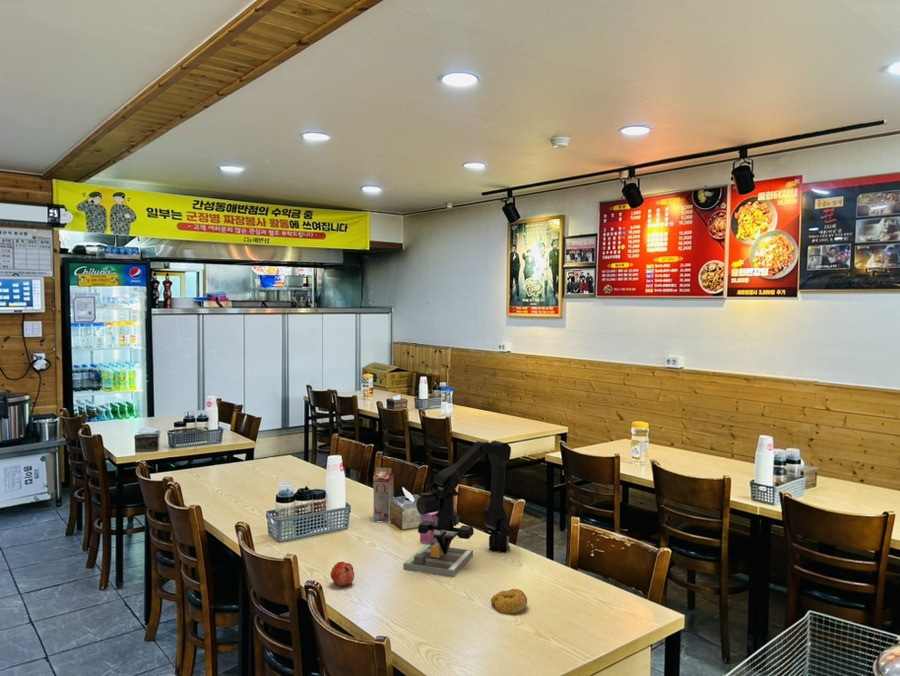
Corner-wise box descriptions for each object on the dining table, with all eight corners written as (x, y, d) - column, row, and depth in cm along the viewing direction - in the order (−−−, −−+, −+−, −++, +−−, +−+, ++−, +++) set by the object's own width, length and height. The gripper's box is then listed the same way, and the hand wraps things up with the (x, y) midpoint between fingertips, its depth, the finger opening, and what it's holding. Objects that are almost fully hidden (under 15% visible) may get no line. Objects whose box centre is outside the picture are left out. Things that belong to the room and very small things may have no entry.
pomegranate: (327, 591, 203) (335, 581, 195) (326, 568, 207) (334, 557, 200) (350, 590, 206) (358, 580, 198) (348, 567, 210) (357, 556, 203)
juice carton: (388, 522, 264) (389, 470, 263) (373, 521, 265) (373, 469, 264) (393, 518, 270) (393, 466, 269) (378, 517, 271) (378, 465, 271)
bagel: (502, 596, 195) (502, 581, 194) (533, 606, 188) (533, 591, 188) (483, 608, 187) (484, 592, 186) (515, 619, 180) (516, 603, 180)
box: (431, 545, 237) (431, 514, 237) (419, 542, 241) (419, 511, 240) (448, 538, 246) (448, 507, 245) (436, 535, 249) (436, 505, 249)
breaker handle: (443, 553, 223) (443, 543, 222) (438, 557, 219) (438, 547, 219) (435, 552, 224) (435, 542, 224) (430, 556, 220) (430, 546, 220)
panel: (472, 556, 227) (472, 543, 227) (453, 577, 208) (453, 563, 208) (426, 549, 234) (426, 537, 233) (403, 569, 215) (403, 556, 215)
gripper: (478, 505, 224) (478, 549, 224) (429, 500, 230) (429, 543, 231) (468, 514, 213) (468, 561, 214) (417, 509, 220) (417, 553, 220)
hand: (445, 554), depth 220 cm, fingers closed
